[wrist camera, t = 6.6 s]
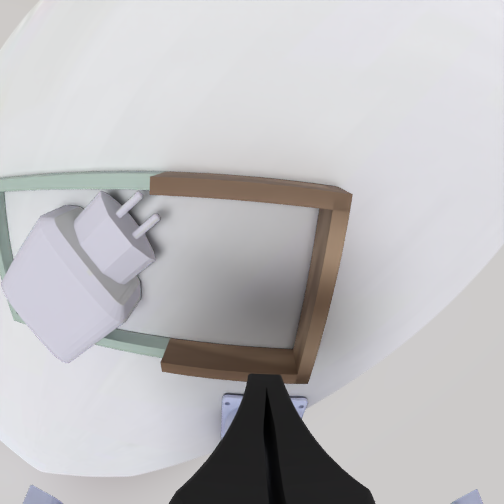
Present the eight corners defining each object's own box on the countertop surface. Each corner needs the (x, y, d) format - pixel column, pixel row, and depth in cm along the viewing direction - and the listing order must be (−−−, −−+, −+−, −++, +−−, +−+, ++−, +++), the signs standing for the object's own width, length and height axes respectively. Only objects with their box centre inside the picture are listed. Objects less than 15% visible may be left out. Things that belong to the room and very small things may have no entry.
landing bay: (170, 347, 22) (166, 358, 21) (21, 313, 22) (13, 320, 20) (166, 171, 17) (158, 174, 16) (-3, 178, 17) (-14, 181, 15)
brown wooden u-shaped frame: (302, 358, 22) (307, 383, 20) (170, 347, 22) (162, 371, 19) (337, 186, 17) (352, 194, 15) (166, 171, 17) (149, 176, 14)
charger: (204, 249, 20) (88, 336, 23) (123, 146, 17) (27, 262, 20) (190, 280, 15) (66, 368, 18) (87, 148, 12) (-4, 285, 16)
